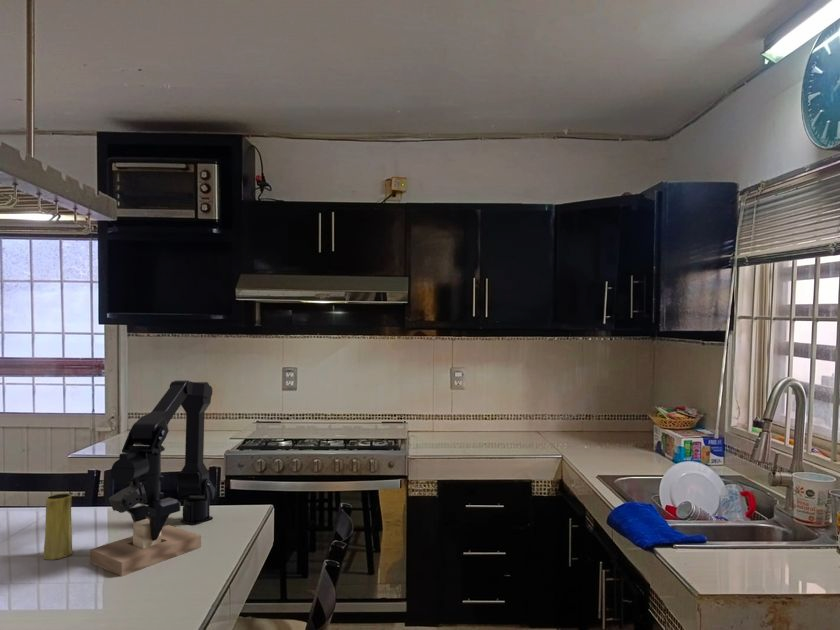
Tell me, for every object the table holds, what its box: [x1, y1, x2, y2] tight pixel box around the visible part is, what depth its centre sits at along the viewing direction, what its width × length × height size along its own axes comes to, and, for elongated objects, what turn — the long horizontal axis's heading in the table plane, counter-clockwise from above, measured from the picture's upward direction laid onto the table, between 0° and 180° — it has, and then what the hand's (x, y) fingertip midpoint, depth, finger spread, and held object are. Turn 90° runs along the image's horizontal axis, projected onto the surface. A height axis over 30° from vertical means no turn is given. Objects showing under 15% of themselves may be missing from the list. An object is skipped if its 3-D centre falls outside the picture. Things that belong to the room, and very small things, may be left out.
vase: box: [42, 492, 74, 561], centre depth 137 cm, size 6×6×14 cm
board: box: [89, 524, 202, 577], centre depth 137 cm, size 20×14×3 cm
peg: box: [132, 519, 161, 549], centre depth 137 cm, size 4×4×8 cm
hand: (147, 537), depth 137 cm, fingers open, 6 cm apart
